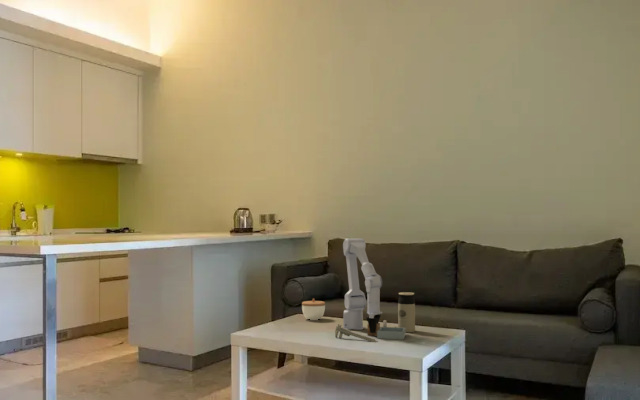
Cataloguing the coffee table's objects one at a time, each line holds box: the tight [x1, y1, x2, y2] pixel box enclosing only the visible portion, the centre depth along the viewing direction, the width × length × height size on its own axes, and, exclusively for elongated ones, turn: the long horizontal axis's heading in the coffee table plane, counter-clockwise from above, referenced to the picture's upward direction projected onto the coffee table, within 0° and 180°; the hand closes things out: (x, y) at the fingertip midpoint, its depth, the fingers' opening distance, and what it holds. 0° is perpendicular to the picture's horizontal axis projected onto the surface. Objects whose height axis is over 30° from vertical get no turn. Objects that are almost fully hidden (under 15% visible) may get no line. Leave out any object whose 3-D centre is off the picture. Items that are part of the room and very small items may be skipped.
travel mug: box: [397, 291, 416, 333], centre depth 268 cm, size 8×8×18 cm
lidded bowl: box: [301, 298, 326, 321], centre depth 302 cm, size 13×13×11 cm
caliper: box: [334, 323, 378, 343], centre depth 247 cm, size 20×1×6 cm, turn 60°
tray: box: [376, 326, 407, 340], centre depth 254 cm, size 12×12×3 cm
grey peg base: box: [382, 319, 388, 327], centre depth 267 cm, size 8×8×5 cm
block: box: [367, 322, 381, 337], centre depth 258 cm, size 5×5×5 cm
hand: (373, 331), depth 258 cm, fingers closed on block, 5 cm apart
